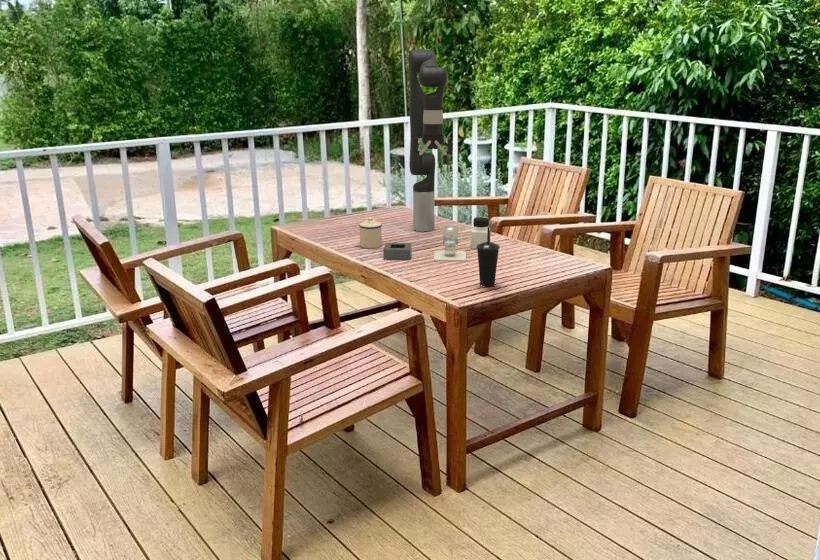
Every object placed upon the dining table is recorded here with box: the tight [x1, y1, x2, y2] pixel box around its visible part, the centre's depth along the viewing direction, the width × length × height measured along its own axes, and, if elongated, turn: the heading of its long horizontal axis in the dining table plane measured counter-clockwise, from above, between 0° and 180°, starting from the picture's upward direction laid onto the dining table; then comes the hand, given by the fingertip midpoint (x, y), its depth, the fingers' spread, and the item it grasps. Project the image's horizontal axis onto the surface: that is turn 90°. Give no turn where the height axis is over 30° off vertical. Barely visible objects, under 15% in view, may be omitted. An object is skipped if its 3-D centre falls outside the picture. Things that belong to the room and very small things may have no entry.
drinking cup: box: [476, 226, 501, 287], centre depth 246 cm, size 8×8×20 cm
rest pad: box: [433, 250, 467, 262], centre depth 282 cm, size 12×12×1 cm
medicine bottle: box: [470, 216, 492, 250], centre depth 294 cm, size 7×7×12 cm
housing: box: [382, 242, 413, 261], centre depth 283 cm, size 10×10×4 cm
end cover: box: [442, 225, 459, 257], centre depth 280 cm, size 6×6×11 cm
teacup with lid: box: [358, 216, 383, 249], centre depth 298 cm, size 12×9×12 cm
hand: (433, 164), depth 285 cm, fingers open, 8 cm apart
